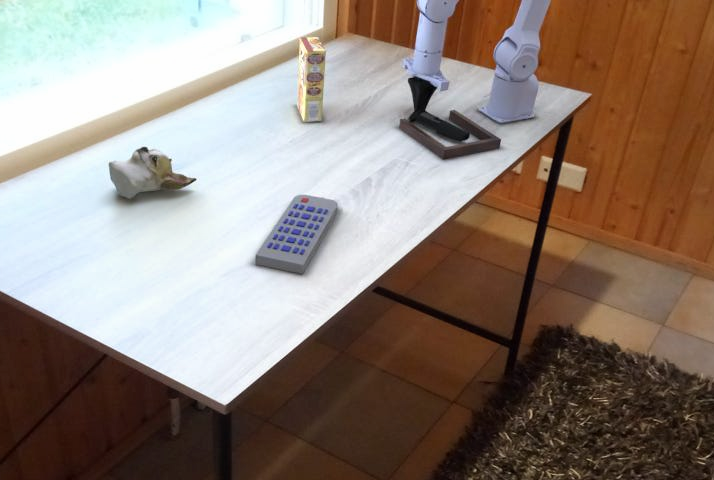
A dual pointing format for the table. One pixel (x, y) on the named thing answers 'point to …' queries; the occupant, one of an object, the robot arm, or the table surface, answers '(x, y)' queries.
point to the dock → (485, 144)
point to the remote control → (297, 234)
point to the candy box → (311, 78)
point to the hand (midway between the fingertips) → (419, 111)
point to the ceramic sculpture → (146, 173)
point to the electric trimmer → (439, 125)
